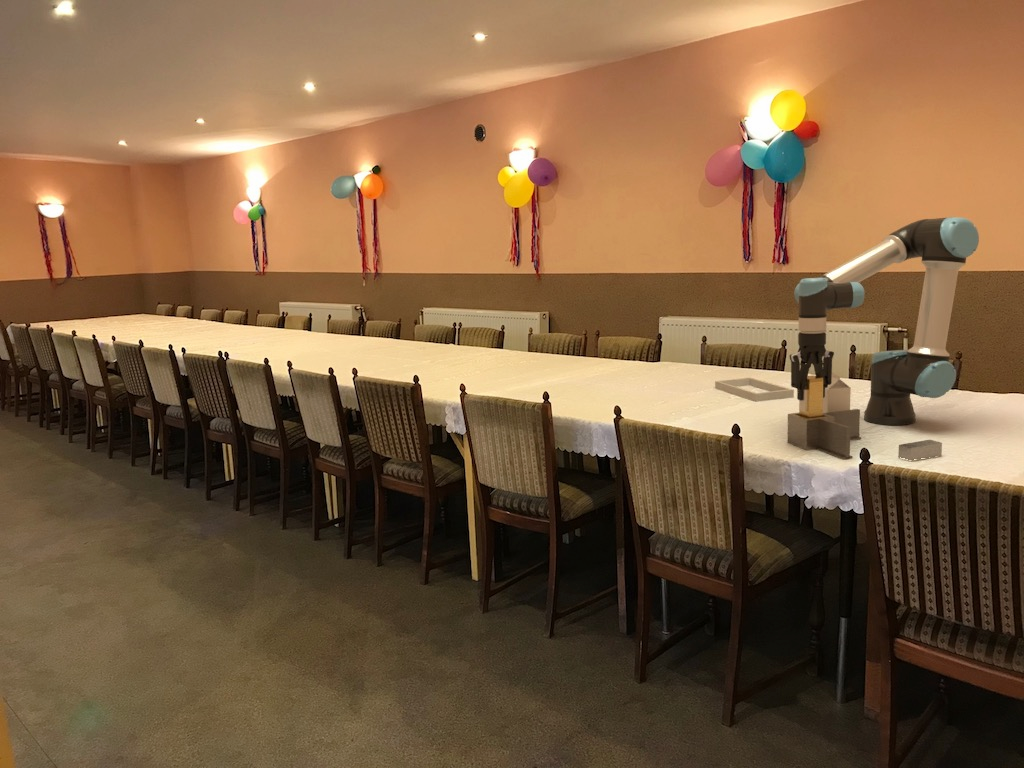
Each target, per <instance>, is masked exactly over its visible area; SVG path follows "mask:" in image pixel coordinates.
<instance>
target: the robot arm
mask: <svg viewBox="0 0 1024 768" xmlns="http://www.w3.org/2000/svg"><path fill="white" fill-rule="evenodd" d="M979 243H980V237H979V231H978V228H977V227H976V226H975V225H974V223H973V221H971V220H969V218H965V217H956V216H955V217H954V216H951V217H950V216H949V217H939V218H937V217H936V218H924V219H918V220H915V221H914V222H911V223H908V224H907V225H904V226H902V227H900V228H899V229H897V230H895V231H893V232H891V233H890V234H887V235H886V236H884V237H883V238H882V240H881V242H880V243H879V244H876V245H874V246H873V247H871V248H869V249H867V250H865V251H864V252H861V253H860V254H858V255H857V256H854V257H853V258H851V259H849V260H847V261H845V262H844V263H842V264H840V265H838V266H837V267H834V268H833V269H832V270H829V271H828V272H826V273H824V274H823V275H820V276H818V277H809V278H807V277H806V278H802V279H800V281H799V283H797V285H796V287H795V289H794V293H793V294H794V299H795V301H796V302H797V303H798V328H797V329H798V331H799V333H797V334H798V335H797V338H798V339H797V343H798V347H799V348H798V349H797V352H796V353H794V354H792V353H791V354H789V360H790V373H791V374H790V386H791V388H795V389H796V390H797V391H796V393H797V395H796V396H797V398H796V399H797V401H798V402H799V403H798V405H799V406H798V411H799V410H801V411H804V412H807V390H806V389H805V386H806V381H807V377H808V376H809V372H810V368H811V367H812V366H813V368H814V376H818V377H822V378H823V398H824V397H825V388H827V387H828V385H830V384H831V382H832V373H833V359H834V355H835V352H834V351H832V350H831V351H830V350H826V346H825V345H826V344H827V333H826V332H825V331H826V330H827V313H828V312H827V311H828V310H829V311H830V310H841V309H849V310H850V309H852V308H857V307H860V306H861V305H863V303H864V300H865V297H866V296H865V293H866V291H865V288H864V287H863V285H862V284H861V282H862V281H864V280H866V279H868V278H870V277H872V276H873V275H875V274H877V273H879V272H880V271H882V270H884V269H886V268H888V267H889V266H891V265H893V264H901V263H903V262H905V261H907V260H911V259H916V258H917V259H918V258H921V264H922V265H923V266H924V267H925V274H924V279H923V283H922V284H923V285H922V292H921V297H920V305H919V310H918V315H917V322H916V323H917V324H916V329H915V333H914V334H915V335H914V342H913V345H912V347H911V348H909V349H898V350H896V349H895V350H885V351H877V352H875V353H873V354H872V357H871V363H870V367H871V368H870V396H869V399H868V403H867V405H866V408H865V410H864V412H863V419H864V421H866V422H869V423H872V424H877V425H885V426H886V425H887V426H904V425H905V426H906V425H910V424H914V423H916V417H917V416H916V412H915V411H914V405H913V403H912V399H911V395H914V396H915V395H916V396H918V397H920V398H929V399H936V398H941V397H942V396H944V395H946V393H948V392H949V391H950V390H951V389H952V388H953V387H954V385H955V382H956V380H957V379H956V377H957V371H956V369H955V366H954V365H953V364H952V363H950V359H951V358H950V357H951V355H950V353H949V352H948V351H947V349H946V347H947V342H948V335H949V329H950V323H951V318H952V317H951V315H952V313H953V312H952V311H953V305H954V299H955V295H956V294H955V293H956V287H957V281H958V275H959V270H961V269H962V268H963V267H964V266H965V265H966V262H967V258H968V257H971V256H972V255H973V254H974V252H976V250H977V249H978V246H979Z"/></svg>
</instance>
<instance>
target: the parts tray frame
mask: <svg viewBox="0 0 1024 768" xmlns="http://www.w3.org/2000/svg"><path fill="white" fill-rule="evenodd" d="M745 386H751V387H754V388H756V389H757V388H758V389H761V390H765V392H755V391H751V390H748V389H745V388H742V387H745ZM714 389H716V390H719V391H722V392H724V393H725V392H726V393H728V394H731V395H734V396H737V397H741V398H744V399H746V400H750V401H752V402H755V403H756V402H765V401H766V402H767V401H772V400H773V401H774V400H783V399H791V398H792V399H793V398H794V395H795V390H794V389H793V388H790V387H787V386H783V385H779V384H776V383H775V384H774V383H772V382H768V381H764V380H761V379H756V378H754V377H743V378H735V379H734V378H733V379H724V380H715V382H714Z"/></svg>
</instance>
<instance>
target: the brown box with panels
mask: <svg viewBox="0 0 1024 768" xmlns="http://www.w3.org/2000/svg"><path fill="white" fill-rule="evenodd" d="M860 419H861V409H858V408H855V409H854V408H853V409H850V410H845V411H837V412H829V413H823V417H818V418H810V419H807V418H804V417H801V416H799V412H793V413H787V444H789V445H792V446H795V447H797V448H799V449H802V450H805V451H811V450H818V451H820V452H823V453H825V454H828V455H830V456H834V457H836V458H838V459H841V460H842V461H843V460H849V459H850V460H851V459H853V457H854V456H853V455H851V442H852V441H859V440H862V436H860V423H861V422H860Z"/></svg>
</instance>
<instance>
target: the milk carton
mask: <svg viewBox="0 0 1024 768" xmlns="http://www.w3.org/2000/svg"><path fill="white" fill-rule="evenodd" d="M851 391H852V389H851V387H850V386H849V385H848V384H847V383H845V382H844V381H843V380H842V379H841V375H839V374H837V373H834V372H832V382H831V384H830V385H828V387H827V388H825V397H824V398H823V413H829V412H837V411H845V410H851V394H852V393H851Z"/></svg>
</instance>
